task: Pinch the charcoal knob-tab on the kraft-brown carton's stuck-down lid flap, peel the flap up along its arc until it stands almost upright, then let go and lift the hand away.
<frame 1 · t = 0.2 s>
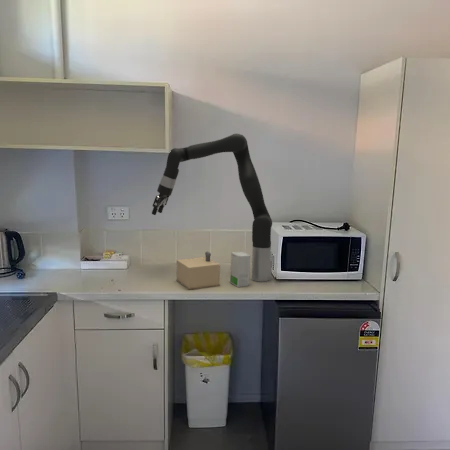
hand: (156, 213, 217), 31 cm above the worktop, fingers open, 8 cm apart
skincare box: (239, 284, 201), on the worktop
carton: (197, 283, 202), on the worktop
lid flap: (197, 258, 199), point 13 cm above the worktop, hinge at 0.0°
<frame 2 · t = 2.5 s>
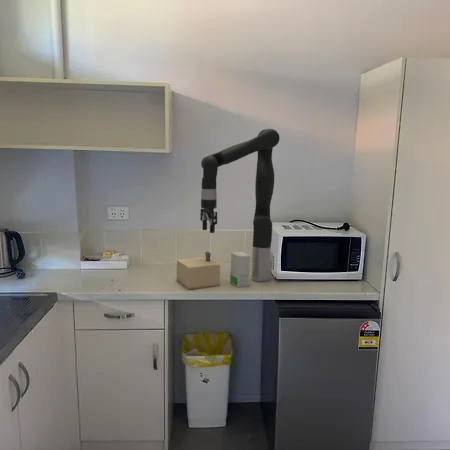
hand: (208, 231, 200), 26 cm above the worktop, fingers open, 8 cm apart
nothing on the worktop moved.
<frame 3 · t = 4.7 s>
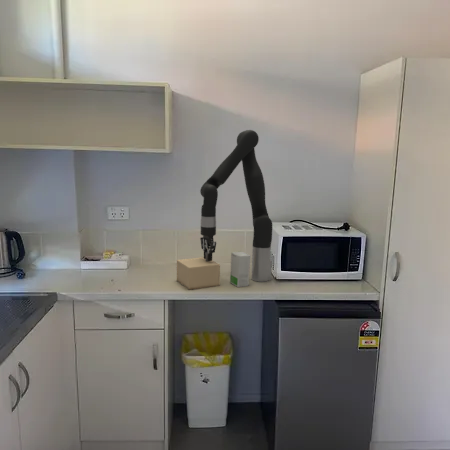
hand: (207, 259, 202), 11 cm above the worktop, fingers closed on lid flap, 4 cm apart
lid flap: (197, 258, 199), point 13 cm above the worktop, hinge at 0.0°, touching gripper
everything else where it was.
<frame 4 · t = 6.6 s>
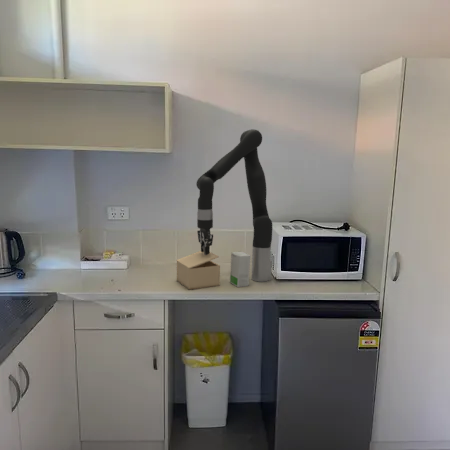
hand: (205, 252, 201), 15 cm above the worktop, fingers closed on lid flap, 4 cm apart
lid flap: (196, 254, 199), point 15 cm above the worktop, hinge at 15.3°, touching gripper
everything else where it was.
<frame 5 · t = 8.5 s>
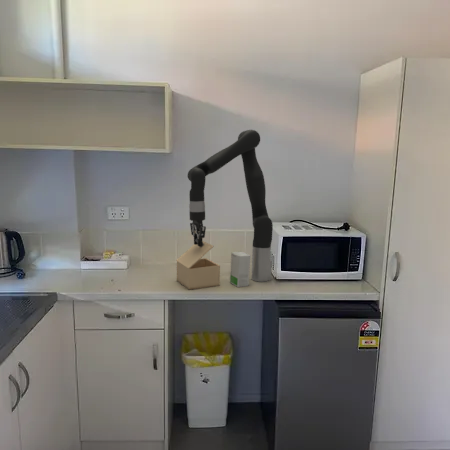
hand: (198, 245, 198), 19 cm above the worktop, fingers closed on lid flap, 4 cm apart
lid flap: (191, 250, 197), point 17 cm above the worktop, hinge at 37.5°, touching gripper
everything else where it was.
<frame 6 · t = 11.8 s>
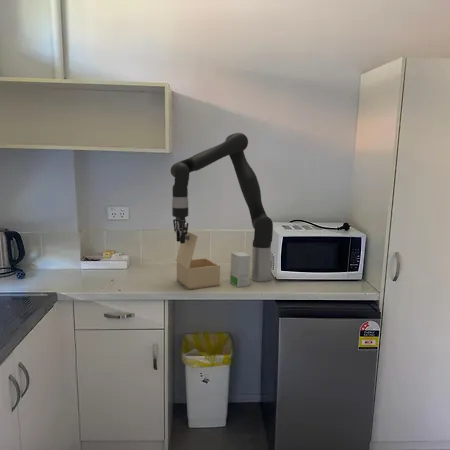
hand: (180, 242, 194), 21 cm above the worktop, fingers open, 4 cm apart
lid flap: (182, 248, 195), point 18 cm above the worktop, hinge at 74.2°
everything else where it was.
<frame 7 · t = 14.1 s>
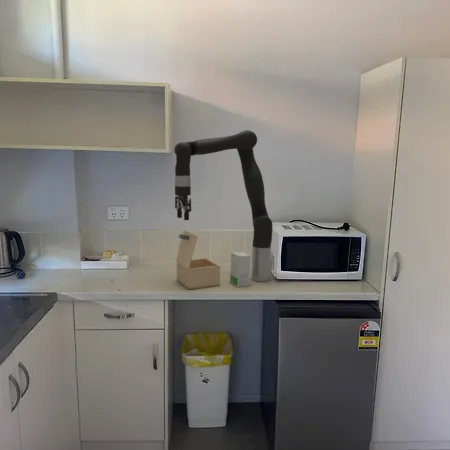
hand: (183, 219, 197), 32 cm above the worktop, fingers open, 8 cm apart
lid flap: (181, 248, 195), point 18 cm above the worktop, hinge at 74.6°
everything else where it was.
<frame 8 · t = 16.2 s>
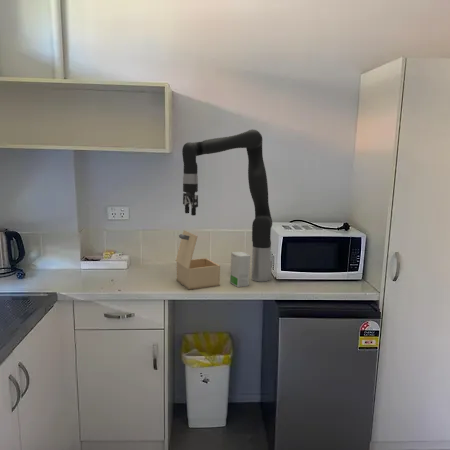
hand: (190, 214, 210), 32 cm above the worktop, fingers open, 8 cm apart
nothing on the worktop moved.
at the end: lid flap at +75° (first picture: +0°); the gripper is holding nothing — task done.
